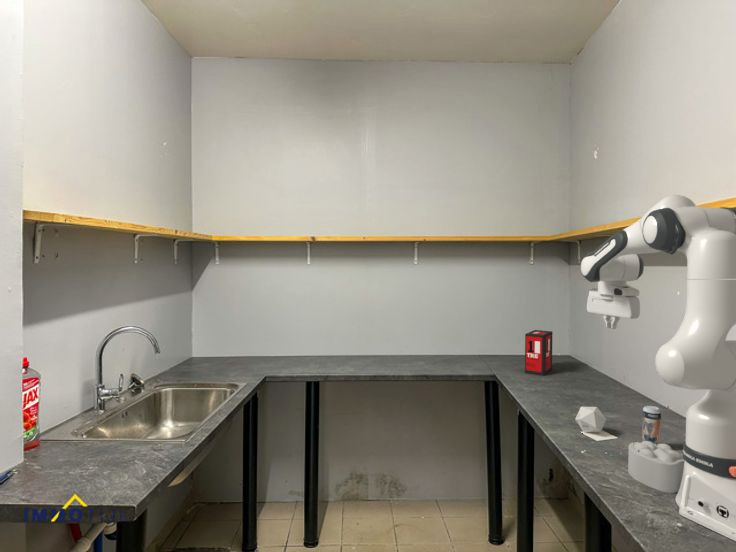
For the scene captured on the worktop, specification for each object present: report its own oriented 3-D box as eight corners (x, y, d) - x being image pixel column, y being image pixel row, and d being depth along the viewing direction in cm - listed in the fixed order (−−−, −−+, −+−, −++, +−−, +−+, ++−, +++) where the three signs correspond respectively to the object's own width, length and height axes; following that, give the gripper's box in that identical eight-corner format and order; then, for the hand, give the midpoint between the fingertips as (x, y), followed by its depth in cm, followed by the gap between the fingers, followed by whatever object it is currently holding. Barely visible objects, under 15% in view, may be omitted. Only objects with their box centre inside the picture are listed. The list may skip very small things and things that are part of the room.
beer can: (640, 446, 135) (640, 407, 134) (644, 441, 138) (644, 404, 138) (658, 450, 131) (659, 411, 131) (662, 446, 135) (663, 407, 134)
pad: (617, 438, 141) (618, 437, 141) (597, 441, 138) (597, 440, 138) (599, 429, 148) (599, 429, 148) (580, 432, 146) (580, 431, 146)
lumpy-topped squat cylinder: (668, 495, 107) (669, 460, 106) (618, 472, 118) (618, 440, 118) (693, 485, 111) (694, 452, 111) (642, 464, 123) (642, 434, 123)
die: (569, 404, 151) (579, 420, 141) (595, 398, 149) (606, 413, 140) (575, 425, 152) (585, 441, 143) (601, 418, 150) (613, 435, 141)
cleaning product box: (534, 366, 236) (535, 329, 235) (552, 369, 230) (552, 331, 230) (524, 373, 222) (525, 334, 222) (543, 375, 217) (543, 335, 216)
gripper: (582, 287, 164) (582, 324, 164) (628, 291, 144) (627, 333, 145) (596, 287, 165) (595, 323, 166) (643, 291, 146) (643, 332, 146)
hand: (611, 328), depth 155 cm, fingers closed
